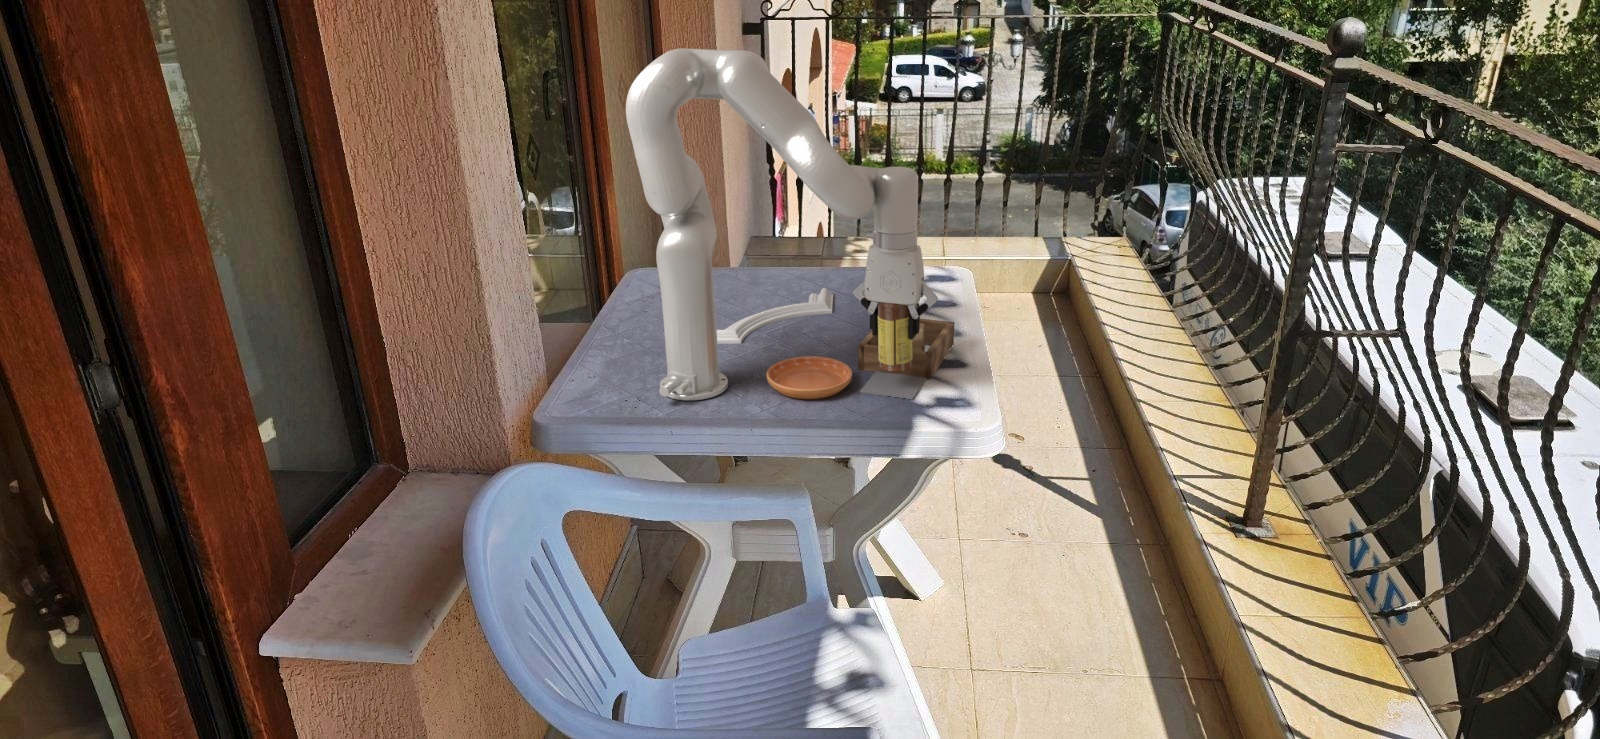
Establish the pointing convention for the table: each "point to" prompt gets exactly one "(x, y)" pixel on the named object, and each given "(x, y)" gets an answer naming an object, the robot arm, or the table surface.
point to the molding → (776, 317)
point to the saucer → (809, 377)
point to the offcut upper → (918, 339)
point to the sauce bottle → (894, 337)
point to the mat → (893, 385)
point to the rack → (922, 361)
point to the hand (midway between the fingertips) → (894, 334)
